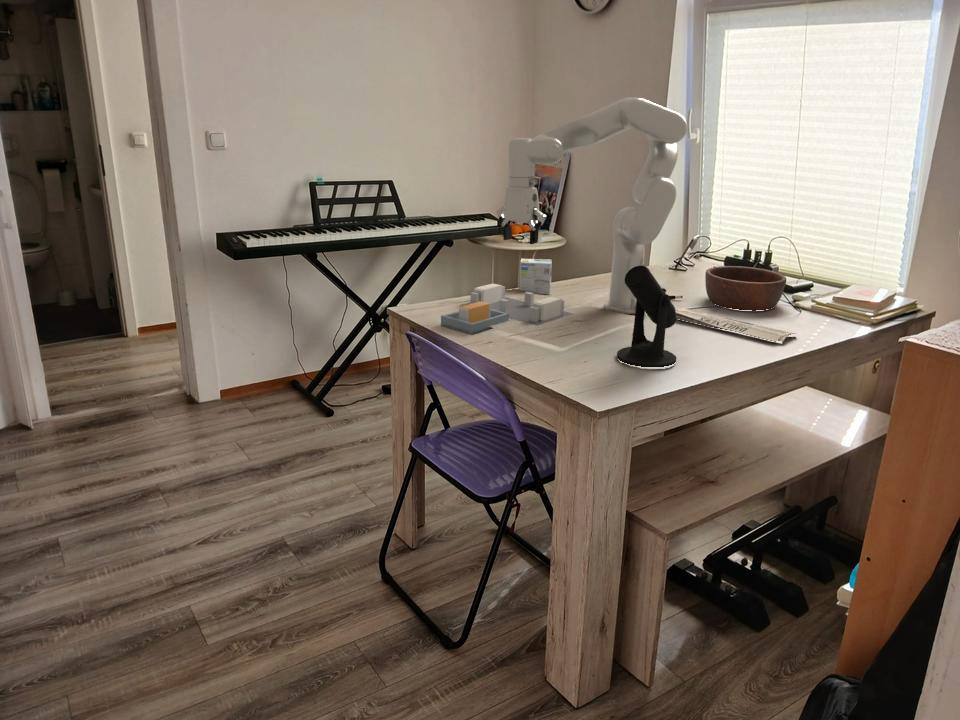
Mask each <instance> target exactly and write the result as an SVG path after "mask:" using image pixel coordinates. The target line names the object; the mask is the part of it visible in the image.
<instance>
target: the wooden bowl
mask: <svg viewBox="0 0 960 720" xmlns="http://www.w3.org/2000/svg"><path fill="white" fill-rule="evenodd" d="M704 278H705V280H704V281H705V291H706V295H707V297H708V300H709V302H710V303H711V302H712V303H711V304H713V305H714V304H716V305H719V306H722V307H726V308H732V309H739V310H752V311H756V310H766V309H771V308H772V309H774V308H775V307H776V306H777V305H778V303H779V302H780V300H781V298H782V296H783V293H784V290H785V287H786V284H787V278H786V276H785V275H783V274H782V273H780V272H777V271H773V270H769V269H765V268H759V267H751V266H741V265H737V266H736V265H721V266H720V265H719V266H713V267H710V268H708V269H706V271H705V277H704ZM716 305H715V306H716ZM719 306H718V307H719ZM722 307H721V308H722ZM773 307H774V308H773ZM772 309H771V310H772Z"/></svg>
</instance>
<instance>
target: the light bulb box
mask: <svg viewBox="0 0 960 720" xmlns="http://www.w3.org/2000/svg"><path fill="white" fill-rule="evenodd" d="M552 264H553V262H552V259H544V258H543V259H542V258H539V259H538V258H537V259H536V258H520V261H519V279H518V281H519V282H518V284H519V285H518V291H523V292H525V293H526V292H530V293H534V295H535V294H536V295H537V294H538V295H550V294H551V288H552V287H551V286H552V285H551V284H552V269H553V267H552Z"/></svg>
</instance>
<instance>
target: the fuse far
mask: <svg viewBox="0 0 960 720" xmlns="http://www.w3.org/2000/svg"><path fill="white" fill-rule="evenodd" d="M502 286H503V285H502V284H497V283H489V284H486V285H481V286H477V287H475V288H473V292H476V293H480V302H485V303H489V304H491V303H494V302H498V301H499V300H500V299H502Z"/></svg>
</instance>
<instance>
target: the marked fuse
mask: <svg viewBox="0 0 960 720" xmlns="http://www.w3.org/2000/svg"><path fill="white" fill-rule="evenodd" d="M458 311H459V320H463V321H466V322H470V323H474V322H478V321H481V320H485V319H488V318H491V317H490V311H491V304H489V303H485V302H476V303H473V304H469V305H465V306H461V305H460V307H458Z"/></svg>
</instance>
